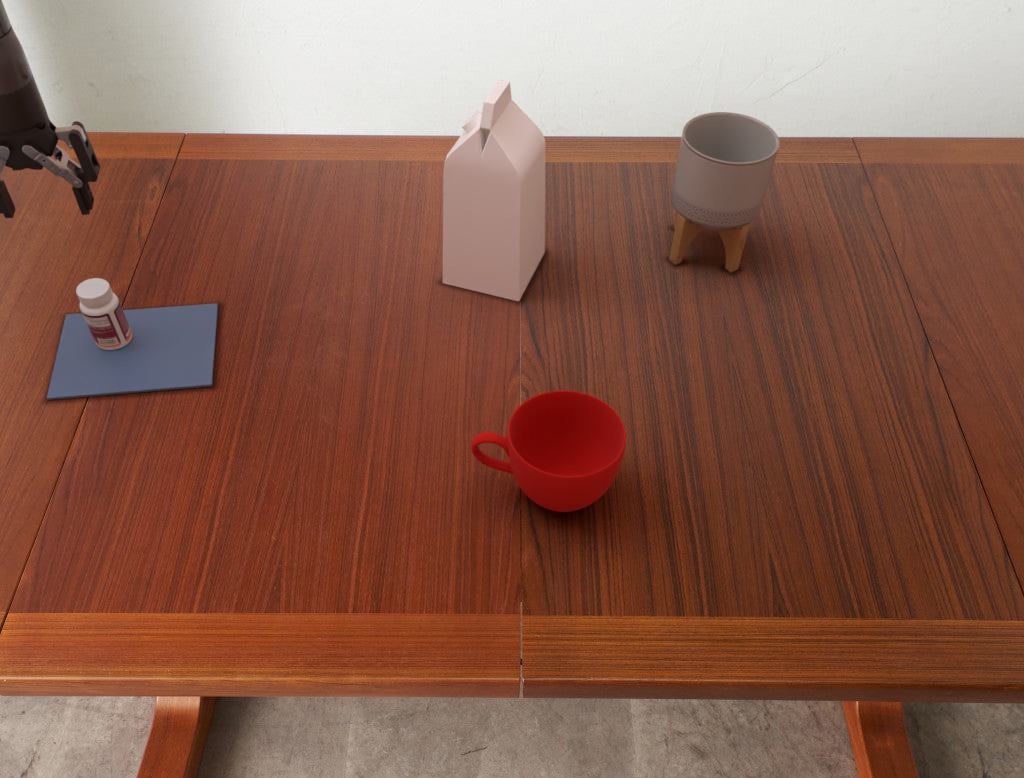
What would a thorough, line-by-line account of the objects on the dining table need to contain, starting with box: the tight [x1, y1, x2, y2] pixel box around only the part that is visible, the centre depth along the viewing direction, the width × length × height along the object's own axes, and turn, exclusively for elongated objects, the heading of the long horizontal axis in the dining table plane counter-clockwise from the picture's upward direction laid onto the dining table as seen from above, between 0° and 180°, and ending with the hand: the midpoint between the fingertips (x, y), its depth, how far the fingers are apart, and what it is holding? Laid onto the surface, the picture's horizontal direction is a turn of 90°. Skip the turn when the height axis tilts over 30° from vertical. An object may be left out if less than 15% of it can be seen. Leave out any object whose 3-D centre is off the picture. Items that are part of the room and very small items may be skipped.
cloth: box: [46, 302, 219, 401], centre depth 118 cm, size 20×16×1 cm
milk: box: [442, 79, 547, 302], centre depth 120 cm, size 12×12×26 cm
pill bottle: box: [75, 277, 132, 350], centre depth 115 cm, size 5×5×8 cm
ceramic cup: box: [470, 389, 627, 513], centre depth 101 cm, size 13×17×10 cm
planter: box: [668, 111, 780, 273], centre depth 128 cm, size 13×13×18 cm
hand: (49, 212), depth 106 cm, fingers open, 8 cm apart
